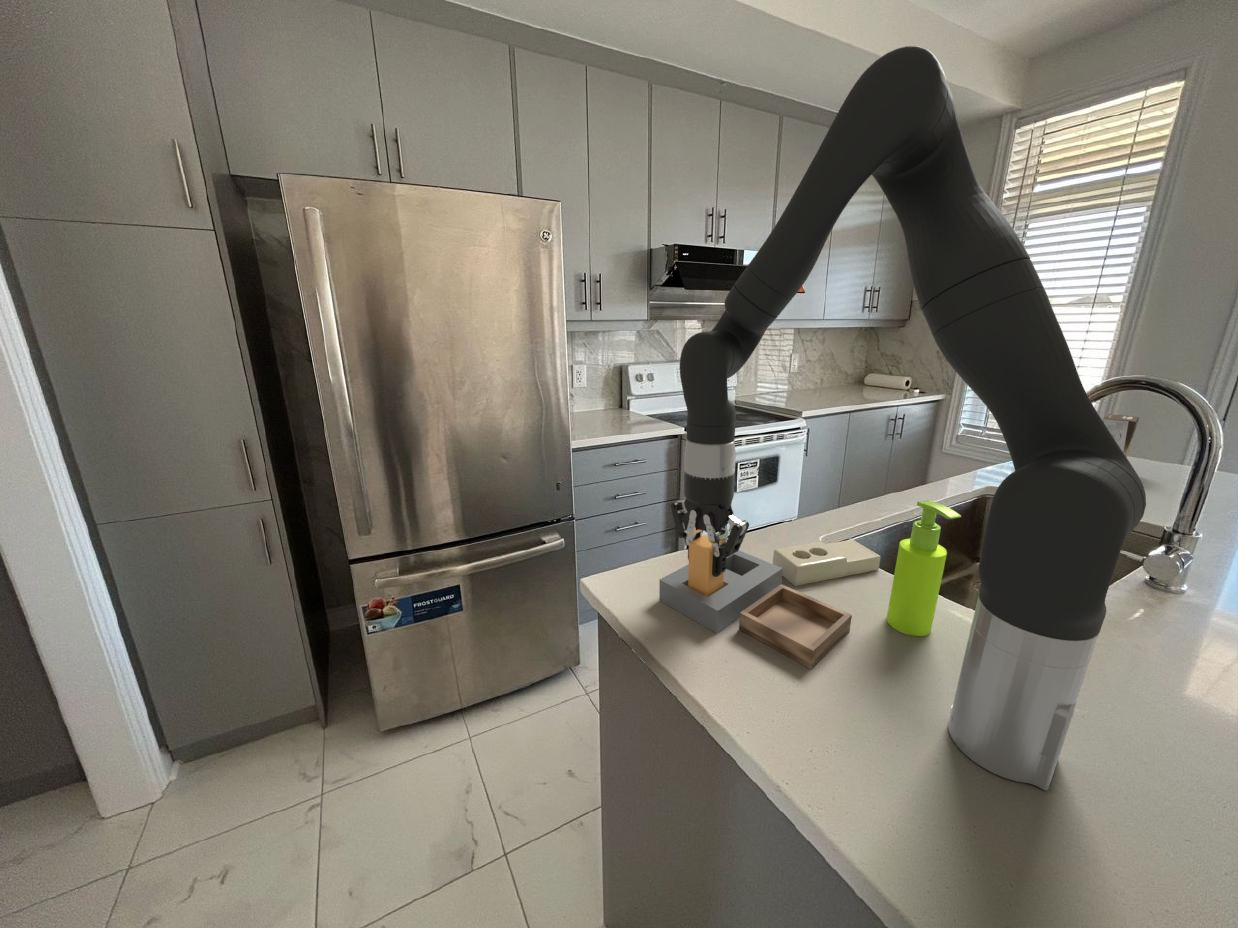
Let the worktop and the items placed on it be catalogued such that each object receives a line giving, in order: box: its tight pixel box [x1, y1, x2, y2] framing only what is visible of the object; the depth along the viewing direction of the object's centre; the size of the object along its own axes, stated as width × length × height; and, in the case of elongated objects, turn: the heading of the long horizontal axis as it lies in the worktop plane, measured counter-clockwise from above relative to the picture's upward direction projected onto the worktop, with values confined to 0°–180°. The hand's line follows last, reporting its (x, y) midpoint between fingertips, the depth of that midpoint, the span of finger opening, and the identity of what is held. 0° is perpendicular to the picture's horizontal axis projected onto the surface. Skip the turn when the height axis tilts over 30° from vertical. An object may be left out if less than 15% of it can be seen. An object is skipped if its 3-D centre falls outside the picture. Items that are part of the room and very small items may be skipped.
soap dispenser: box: [886, 500, 962, 637], centre depth 70 cm, size 6×7×20 cm
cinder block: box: [658, 550, 783, 634], centre depth 81 cm, size 12×18×4 cm, turn 131°
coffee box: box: [1102, 413, 1140, 459], centre depth 135 cm, size 9×6×16 cm
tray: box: [738, 583, 853, 670], centre depth 72 cm, size 12×12×3 cm
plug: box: [688, 534, 724, 597], centre depth 77 cm, size 4×4×9 cm
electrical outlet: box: [772, 539, 882, 587], centre depth 89 cm, size 7×4×18 cm
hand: (706, 568), depth 77 cm, fingers closed on plug, 4 cm apart
